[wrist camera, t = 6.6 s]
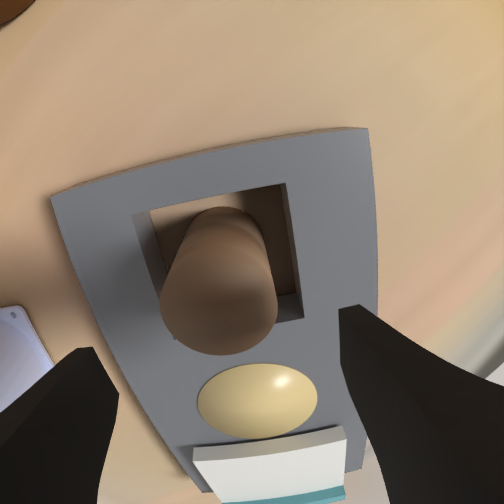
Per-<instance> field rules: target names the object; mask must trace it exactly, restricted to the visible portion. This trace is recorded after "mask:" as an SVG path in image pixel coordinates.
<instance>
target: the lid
mask: <svg viewBox="0 0 504 504" xmlns="http://www.w3.org/2000/svg"><path fill="white" fill-rule="evenodd" d="M346 442H347V438H346V435H345V432H344V429H343V425H342V426H338V427H334V428H329V429H325V430H320V431H316V432H311V433H306V434H301V435H295V436H290V437H284V438H278V439H272V440H265V441H258V442H250V443H242V444H233V445H222V446H210V447H194V450H193V463H194V464H195V466H196V467H197V469H198V470H199V472H200V473H201V475H202V476H203V477H204V479H205V480H206V482H207V483H208V484H209V486H210V487H211V489H212V490H213V491H214V493H215V494H216V495H217V497H218V498H219V499H220V501H221V502H222V504H327V503H331V502H336V501H340V500H344V499H345V491H344V487H343V481H344V470H345V457H346Z"/></svg>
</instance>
